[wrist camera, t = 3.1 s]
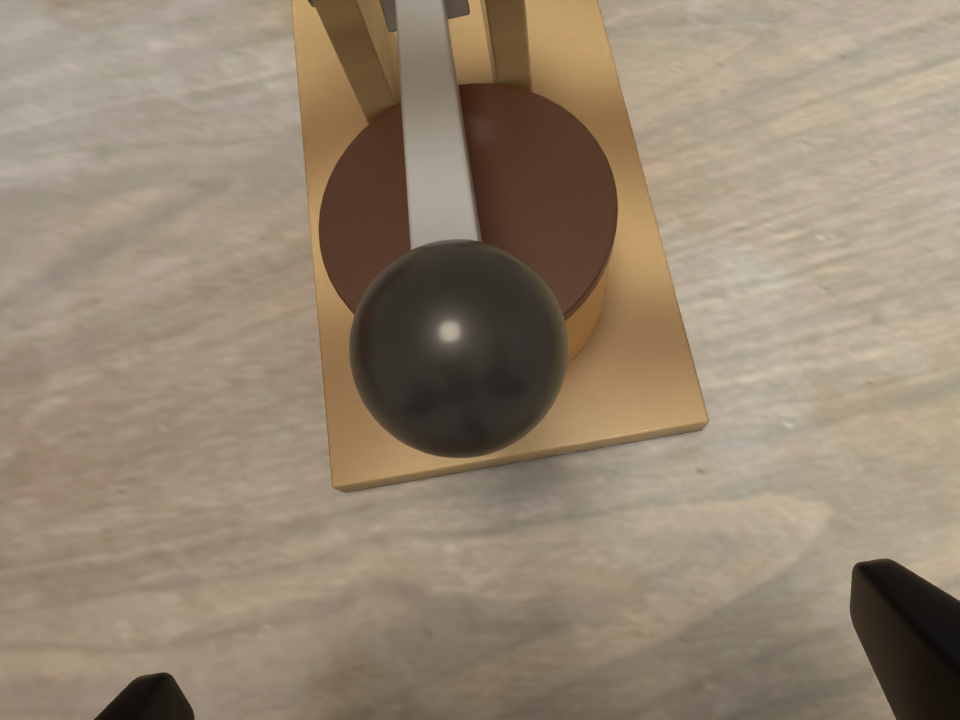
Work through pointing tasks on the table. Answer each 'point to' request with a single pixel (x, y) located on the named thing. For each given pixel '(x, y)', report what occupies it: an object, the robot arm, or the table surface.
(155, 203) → the table surface
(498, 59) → the slicer
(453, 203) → the blade
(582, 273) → the cake
